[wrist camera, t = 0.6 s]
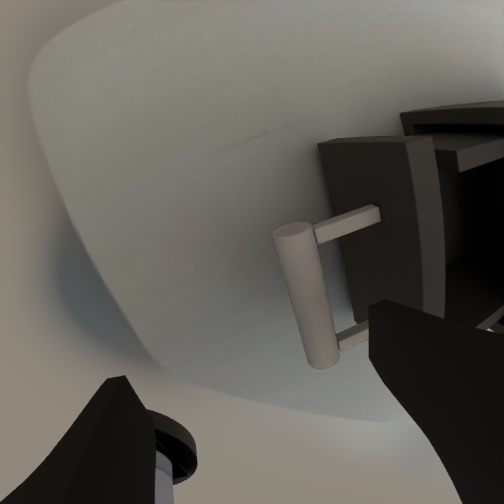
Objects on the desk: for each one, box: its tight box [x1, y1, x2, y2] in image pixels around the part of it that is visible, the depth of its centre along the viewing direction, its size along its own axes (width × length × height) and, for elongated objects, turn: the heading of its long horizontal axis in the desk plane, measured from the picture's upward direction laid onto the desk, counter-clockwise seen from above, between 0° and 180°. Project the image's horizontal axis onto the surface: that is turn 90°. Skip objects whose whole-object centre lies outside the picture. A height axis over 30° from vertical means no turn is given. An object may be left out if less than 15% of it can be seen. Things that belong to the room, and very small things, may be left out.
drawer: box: [272, 124, 504, 369], centre depth 13 cm, size 17×10×7 cm, turn 107°
